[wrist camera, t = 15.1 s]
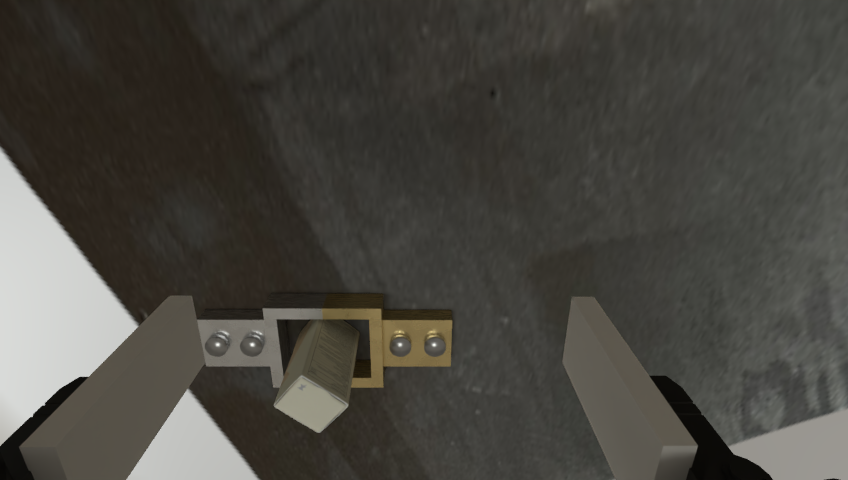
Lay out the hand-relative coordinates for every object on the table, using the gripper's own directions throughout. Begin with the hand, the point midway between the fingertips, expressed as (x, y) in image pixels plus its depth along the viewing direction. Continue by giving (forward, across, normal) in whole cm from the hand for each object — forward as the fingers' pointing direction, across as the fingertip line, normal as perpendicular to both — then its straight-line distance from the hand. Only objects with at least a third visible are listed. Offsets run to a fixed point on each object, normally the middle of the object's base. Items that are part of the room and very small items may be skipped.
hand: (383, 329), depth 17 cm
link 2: (+29, -2, -19) cm, 34 cm away
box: (+29, -8, -19) cm, 35 cm away
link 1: (+29, -14, -19) cm, 37 cm away
